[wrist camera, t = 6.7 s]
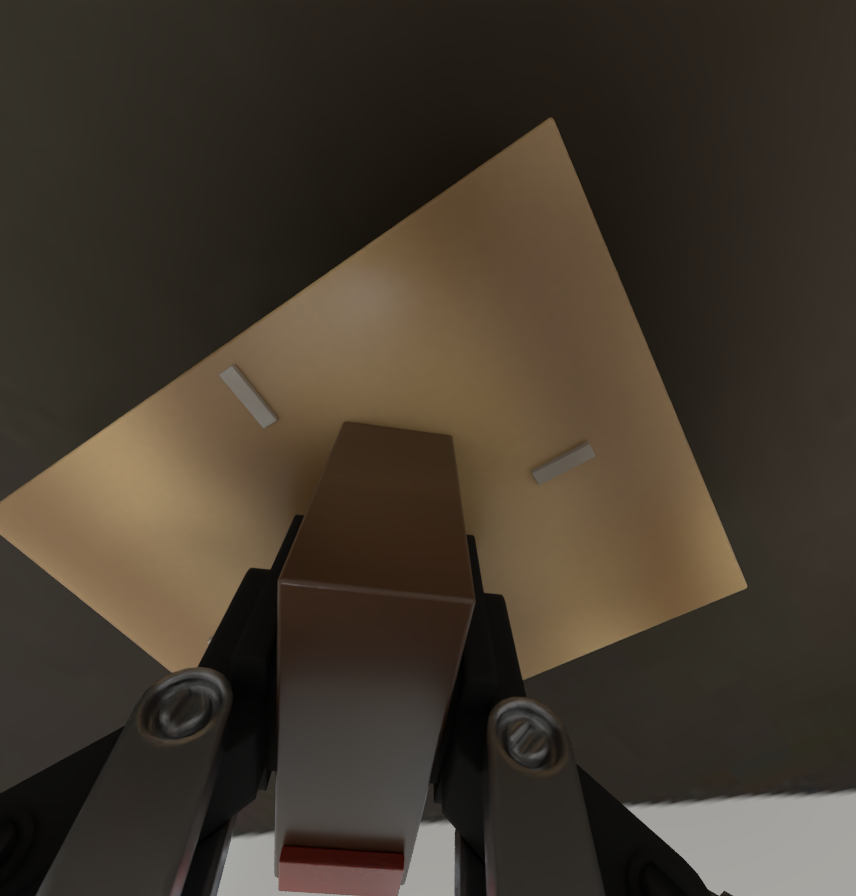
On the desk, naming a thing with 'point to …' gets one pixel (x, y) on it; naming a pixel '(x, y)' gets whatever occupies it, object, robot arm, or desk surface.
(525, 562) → the wooden dial board
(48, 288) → the desk surface
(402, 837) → the arm
